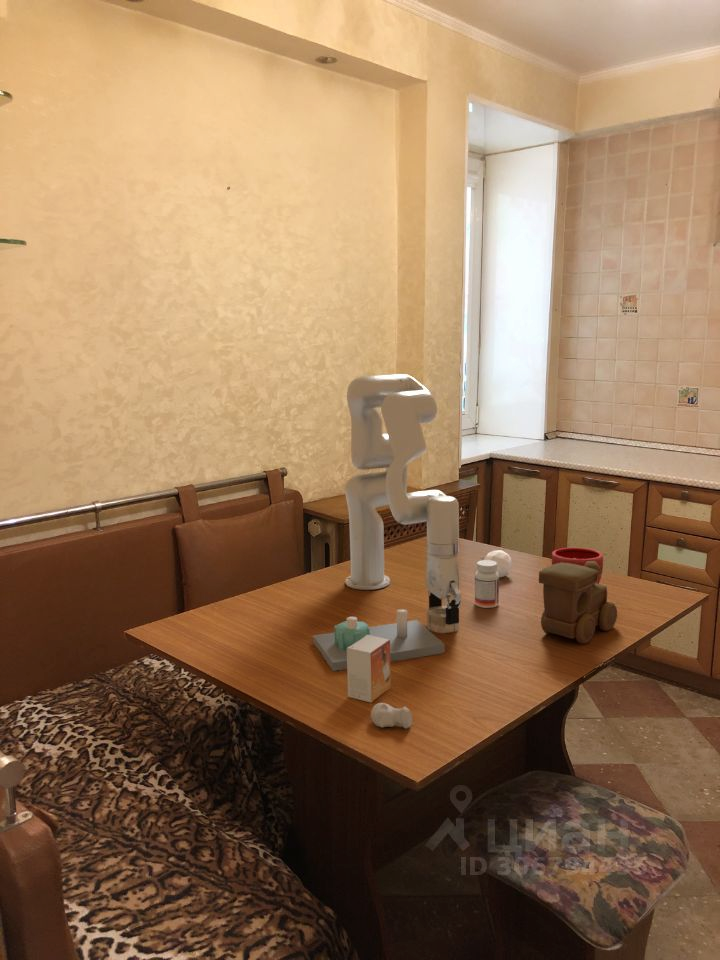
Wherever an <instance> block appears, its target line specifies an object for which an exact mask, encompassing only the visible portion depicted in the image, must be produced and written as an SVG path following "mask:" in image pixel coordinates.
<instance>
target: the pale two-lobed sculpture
mask: <svg viewBox="0 0 720 960" xmlns="http://www.w3.org/2000/svg"><path fill="white" fill-rule="evenodd" d="M370 719H371V722H373V724H374V725H375V726H377V727H380V728H386V727H395V725H400V726H402V727H403V728H404V729H409V728H410V727H412V725H413V717H412V711H410V709H409V708H408V707H406V706H403V707H401V708H395V707H393V706H391V705H390V704H388V703H386V702H378V703H375V704H374V705H373V707H372V709H371V712H370Z"/></svg>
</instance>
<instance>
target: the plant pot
mask: <svg viewBox="0 0 720 960" xmlns="http://www.w3.org/2000/svg"><path fill="white" fill-rule="evenodd" d="M587 561H595V562H597V564H598V565H599V567H600V568H601V570H602V571H601V573H600V575H599V577H598V582H597V584H600V582H601V579H602V574H603V570H604V569H603V568H604V555H603V553H602V552H600V551H598V550H596V549H591V548H585V547H584V548H582V547H562V548H558V549H555V550H553V551H552V552H551V565H554V564H557V563H570V564H576V565H580V566H584V565H585V563H586V562H587Z"/></svg>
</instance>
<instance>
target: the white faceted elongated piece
mask: <svg viewBox="0 0 720 960" xmlns="http://www.w3.org/2000/svg"><path fill="white" fill-rule="evenodd" d="M484 560H491V561H495V562H496V563H497V571H496V572H497V573H498V574H499V578H503V577H506V576H507V575H509V573H510V572H511V570H512V568H513V561H512V558H511V556H510V555H509V554H508V553H507V552H505V551H503V550H502V549H499V550H492V551H490V552H488V553H487V554H486V556H485V558H484Z"/></svg>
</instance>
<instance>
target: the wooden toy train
mask: <svg viewBox="0 0 720 960" xmlns="http://www.w3.org/2000/svg"><path fill="white" fill-rule="evenodd" d="M601 571H602V572H603V570H601V568H600V567H599V565H598V564H597V562H595V561H587V562H586V563H585V565H584V566H580V565H576V564H570V563H557V564H554V565H552V564H551V565H549V566H546V567H544V568H543V569H541V570H540V571H539V572H538V583H539V584H542V585H543V586H542V588H543V589H542V590H543V591H542V596H543V607H544V610H543V612H542V614H541V617H540V625H541V628H542V631H543V632H544V633H546V634H548V635H550V634H554V635H555V634H556V635H559V636H562V637H565V638H568V639H575V640H576V641H577V642H578V643H579V644H581V645H584V644H588V643H589V642H590V641H591V640H592V638H593V636H594V633H595V631H596V626H597V625H598V627H600V630H602V631H603V632H604V631H605V632H607V631H610V630H611V629H613V628H614V626H615V625H616V622H617V619H618V608H617V606H616V604H615V603H614V602H612V601H608V589H607V588H608V587H607V586H605V585H603V584H601V583H599V584H597V582H598V577H599V575H600V573H601Z"/></svg>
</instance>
